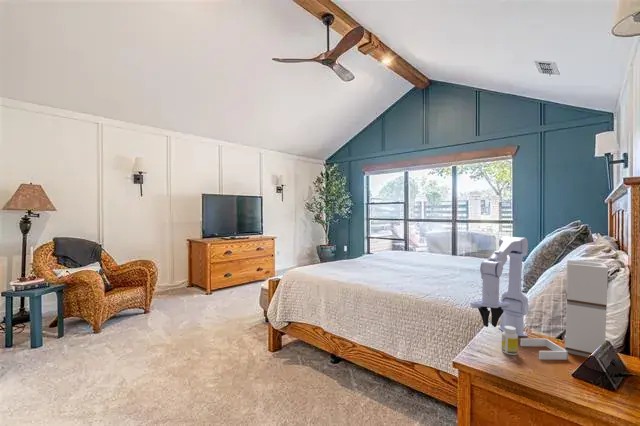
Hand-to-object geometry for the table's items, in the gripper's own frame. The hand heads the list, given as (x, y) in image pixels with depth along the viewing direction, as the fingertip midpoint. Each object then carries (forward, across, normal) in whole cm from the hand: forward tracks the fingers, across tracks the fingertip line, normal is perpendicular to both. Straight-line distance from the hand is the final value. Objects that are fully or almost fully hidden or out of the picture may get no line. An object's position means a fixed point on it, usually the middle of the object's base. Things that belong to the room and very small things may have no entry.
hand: (489, 325), depth 121 cm
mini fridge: (+11, +38, +1) cm, 39 cm away
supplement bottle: (+11, +8, 0) cm, 13 cm away
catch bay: (+10, +21, 0) cm, 23 cm away
